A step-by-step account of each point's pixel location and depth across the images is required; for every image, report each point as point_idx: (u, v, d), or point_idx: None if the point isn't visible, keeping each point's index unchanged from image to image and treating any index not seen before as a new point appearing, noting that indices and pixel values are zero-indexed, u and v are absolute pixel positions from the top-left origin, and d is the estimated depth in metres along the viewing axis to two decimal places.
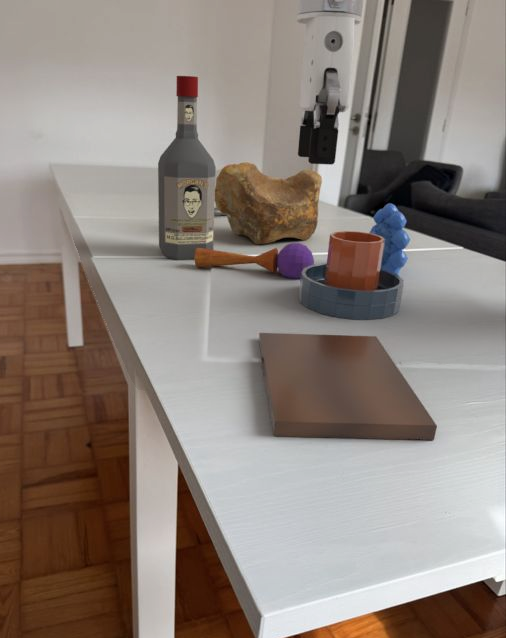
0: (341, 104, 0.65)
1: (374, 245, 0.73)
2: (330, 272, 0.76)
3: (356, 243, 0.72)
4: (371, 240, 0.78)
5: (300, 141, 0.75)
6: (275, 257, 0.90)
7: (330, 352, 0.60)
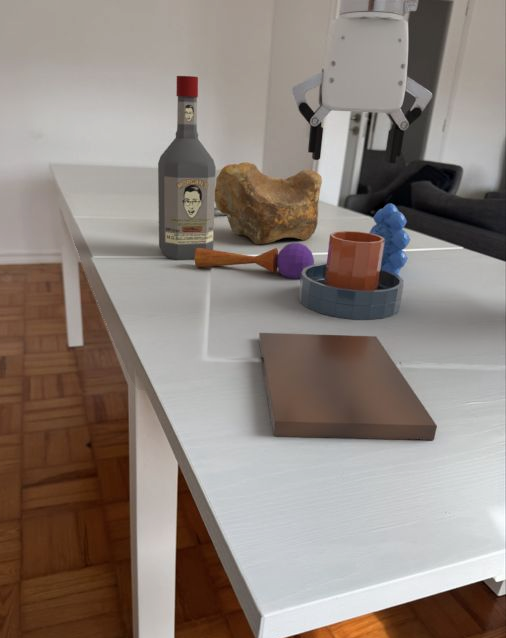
0: None
1: (374, 245, 0.73)
2: (330, 272, 0.76)
3: (356, 243, 0.72)
4: (371, 240, 0.78)
5: (320, 143, 0.69)
6: (275, 257, 0.90)
7: (330, 352, 0.60)
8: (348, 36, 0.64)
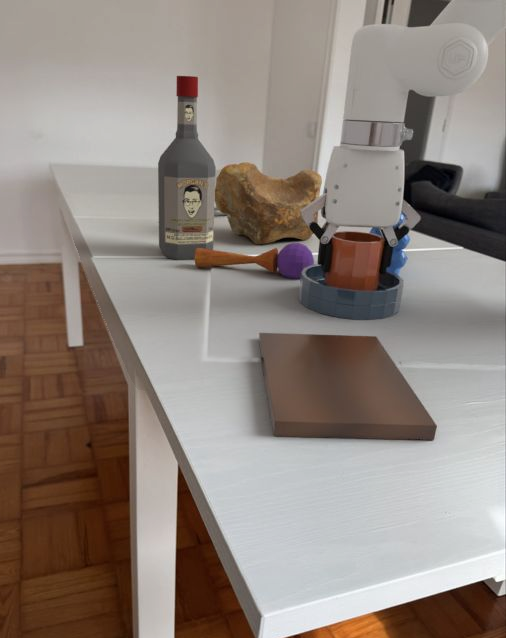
0: None
1: (374, 245, 0.73)
2: (330, 272, 0.76)
3: (356, 243, 0.72)
4: (371, 240, 0.78)
5: (330, 258, 0.75)
6: (275, 257, 0.90)
7: (330, 352, 0.60)
8: (350, 164, 0.69)
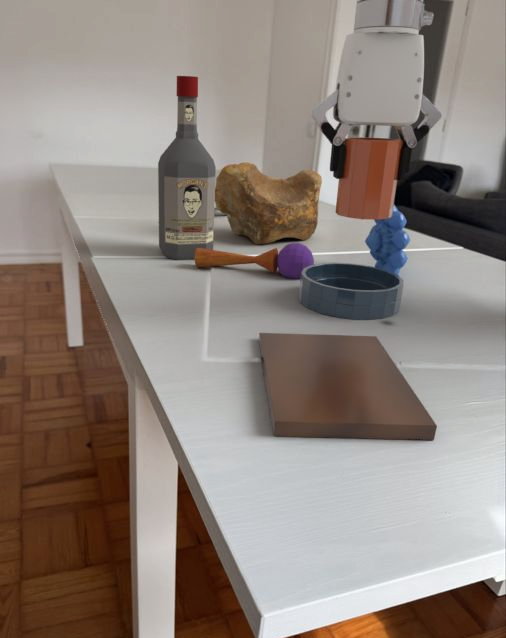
0: None
1: (391, 144, 0.67)
2: (343, 179, 0.71)
3: (371, 142, 0.67)
4: None
5: (343, 162, 0.70)
6: (275, 257, 0.90)
7: (330, 352, 0.60)
8: (365, 51, 0.64)
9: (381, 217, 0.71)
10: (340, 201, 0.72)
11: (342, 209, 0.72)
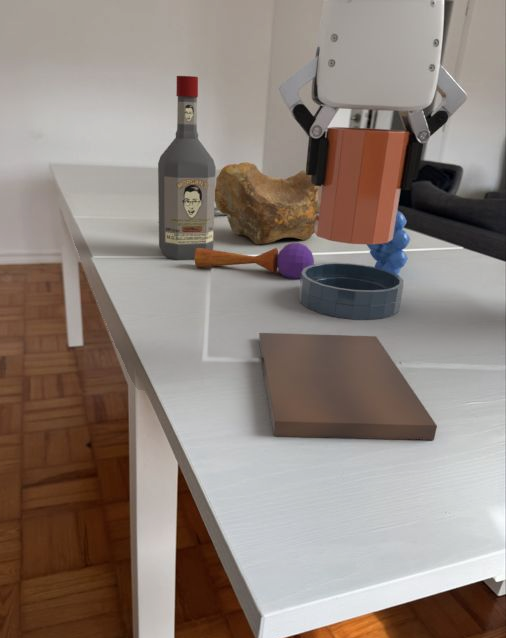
0: None
1: (394, 136, 0.46)
2: (324, 186, 0.50)
3: (365, 133, 0.46)
4: None
5: (325, 163, 0.49)
6: (275, 257, 0.90)
7: (330, 352, 0.60)
8: None
9: (377, 241, 0.50)
10: (320, 217, 0.51)
11: (323, 228, 0.51)
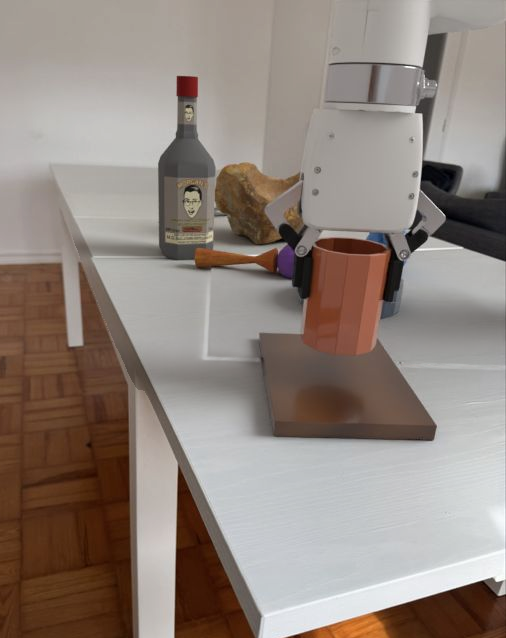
0: None
1: (376, 259, 0.48)
2: (309, 299, 0.51)
3: (347, 256, 0.47)
4: (371, 251, 0.53)
5: (310, 279, 0.50)
6: (275, 257, 0.90)
7: None
8: (339, 134, 0.45)
9: (361, 352, 0.51)
10: (305, 326, 0.53)
11: (308, 337, 0.53)
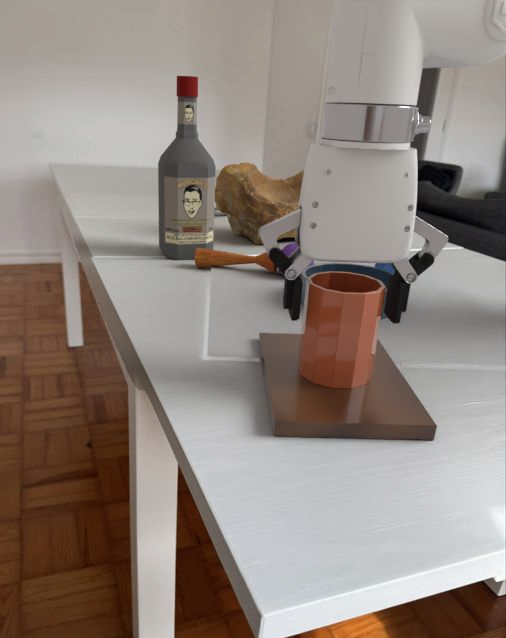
0: None
1: (370, 297, 0.49)
2: (306, 333, 0.53)
3: (343, 295, 0.49)
4: (366, 285, 0.54)
5: (300, 301, 0.51)
6: None
7: None
8: (335, 170, 0.46)
9: (356, 384, 0.53)
10: (303, 359, 0.54)
11: (305, 370, 0.54)
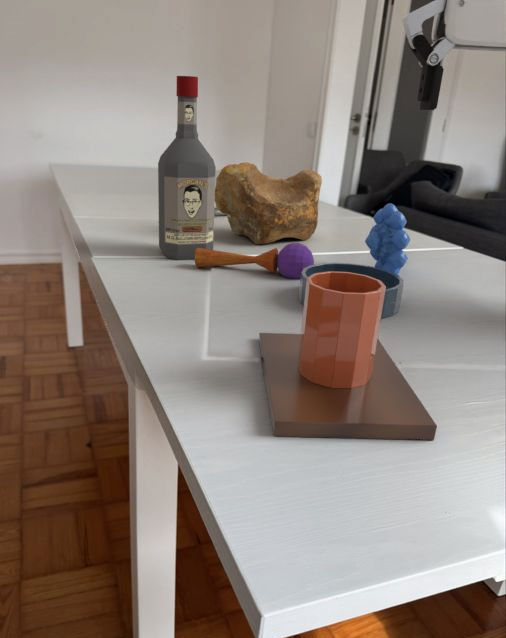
0: None
1: (370, 297, 0.49)
2: (306, 333, 0.53)
3: (343, 295, 0.49)
4: (366, 285, 0.54)
5: (439, 88, 0.55)
6: (275, 257, 0.90)
7: None
8: None
9: (356, 384, 0.53)
10: (303, 359, 0.54)
11: (305, 370, 0.54)
